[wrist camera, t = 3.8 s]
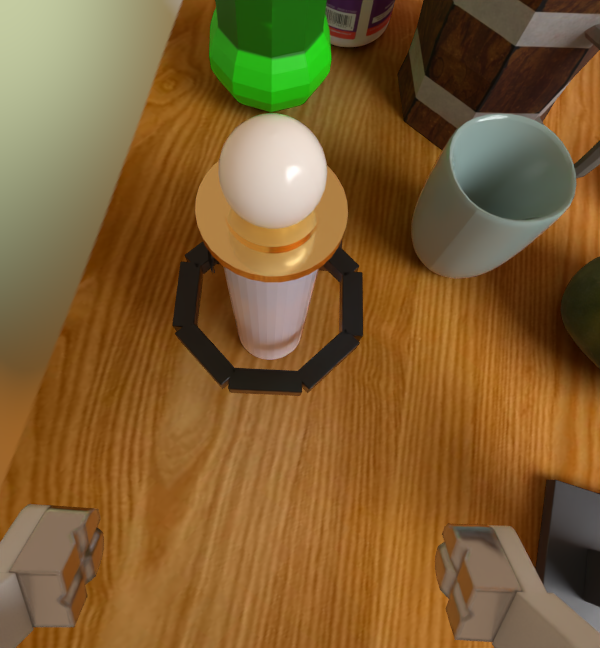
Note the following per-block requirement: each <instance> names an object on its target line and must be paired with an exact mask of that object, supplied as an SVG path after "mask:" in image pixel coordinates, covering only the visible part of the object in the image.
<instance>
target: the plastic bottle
mask: <svg viewBox="0 0 600 648" xmlns="http://www.w3.org/2000/svg"><path fill="white" fill-rule="evenodd" d="M215 1H216V9H215V11H214V13H213V17H212V20H211V24H210V43H209V58H210V65H211V69H212V71H213V72H214V74H215V75H216V77H217V78H218V80H219V81H220V82H221V83H222V84H223V85H224V87H225V88H226V89H227V90H228V91H229V92H230V93H231V94H232V96H233V97H234V98H235V99H236V100H237V101H238V102H239V103H241V104H243V105H247V106H250V107H254V108H257V109H261V110H264V111H268V112H275V111H279V110H283V109H287V108H292V107H296V106H300V105H302V104H304V103H305V102H306V101H307V99H308V98H309V97H310V96H311V95H312V94H313V93H314V91H315V90H316V89H317V88H318V87H319V86H320V85H321V83H322V82H323V81H324V79H325V78H326V76H327V75H328V74H329V72H330V66H331V60H332V58H331V44H330V30H329V26H328V22H327V18H326V15H325V10H326V2H327V0H215Z"/></svg>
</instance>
